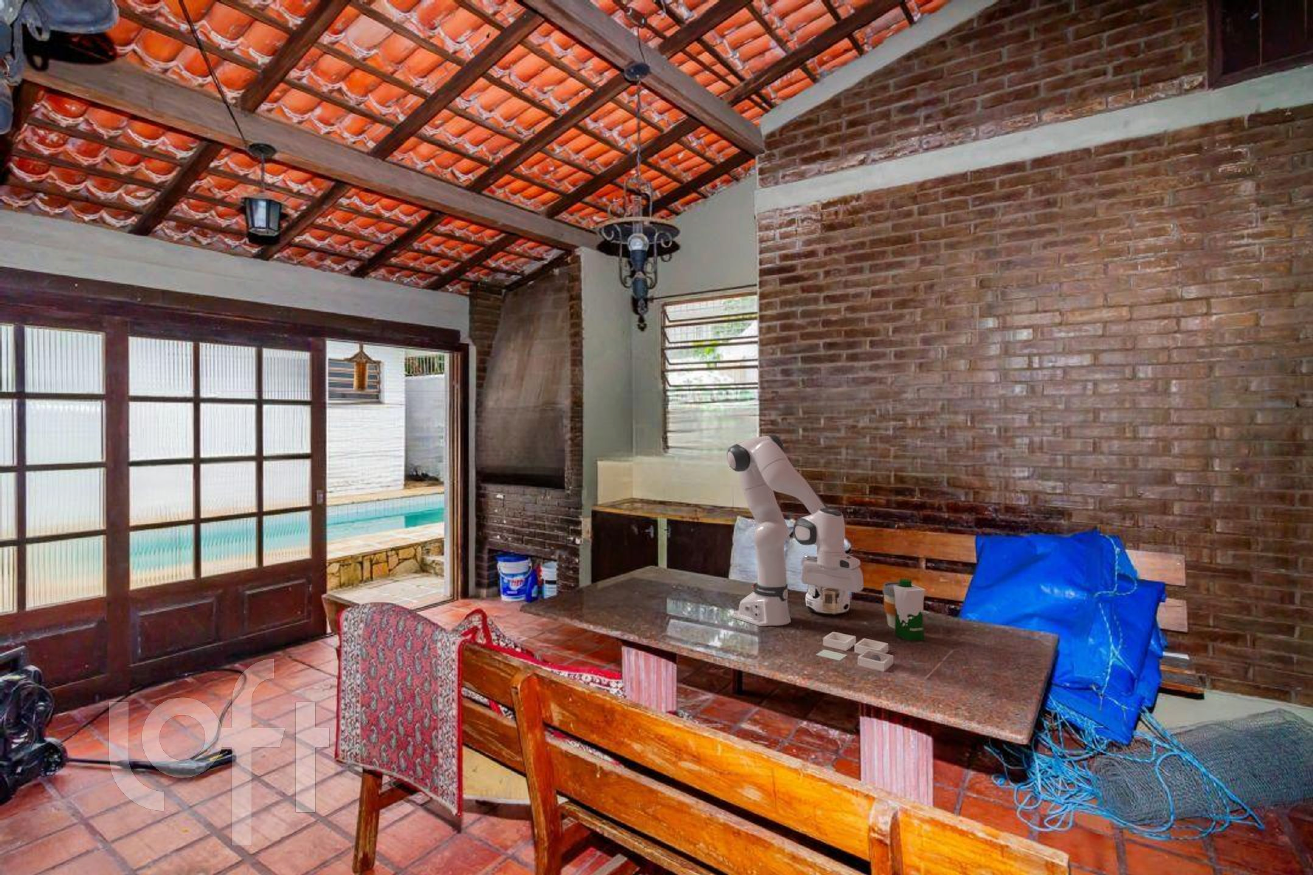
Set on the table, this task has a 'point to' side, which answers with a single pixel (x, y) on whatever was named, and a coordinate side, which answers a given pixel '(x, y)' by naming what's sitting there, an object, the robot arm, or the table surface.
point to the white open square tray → (839, 641)
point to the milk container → (817, 604)
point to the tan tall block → (830, 601)
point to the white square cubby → (871, 646)
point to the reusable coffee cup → (890, 602)
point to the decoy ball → (875, 657)
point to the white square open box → (877, 665)
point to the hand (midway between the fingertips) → (831, 601)
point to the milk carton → (909, 611)
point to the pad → (831, 655)
